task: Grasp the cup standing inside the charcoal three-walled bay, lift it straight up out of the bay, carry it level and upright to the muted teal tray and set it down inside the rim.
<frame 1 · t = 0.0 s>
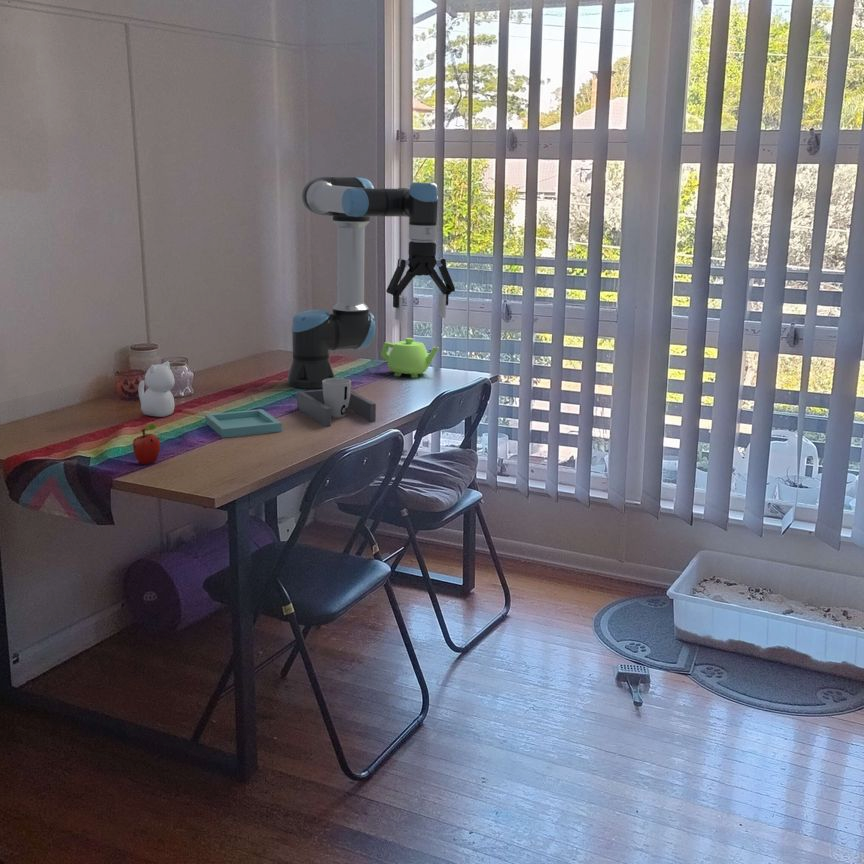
hand: (420, 318, 268), 28 cm above the table, fingers open, 13 cm apart
bay: (336, 415, 274), on the table
tray: (243, 427, 259), on the table
teapot: (408, 375, 329), on the table
cup: (336, 416, 274), resting in bay
cat figurine: (156, 415, 269), on the table
apple: (148, 463, 227), on the table
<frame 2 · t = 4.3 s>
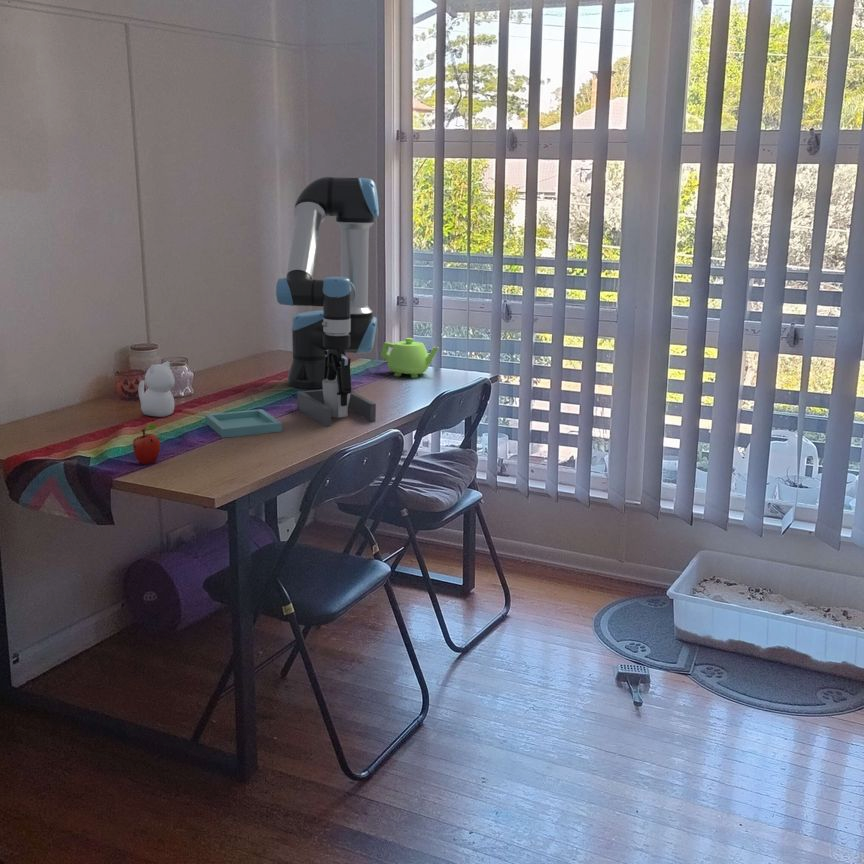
hand: (336, 412, 274), 1 cm above the table, fingers closed on cup, 8 cm apart
cup: (336, 416, 274), resting in bay, touching gripper
everything else where it was.
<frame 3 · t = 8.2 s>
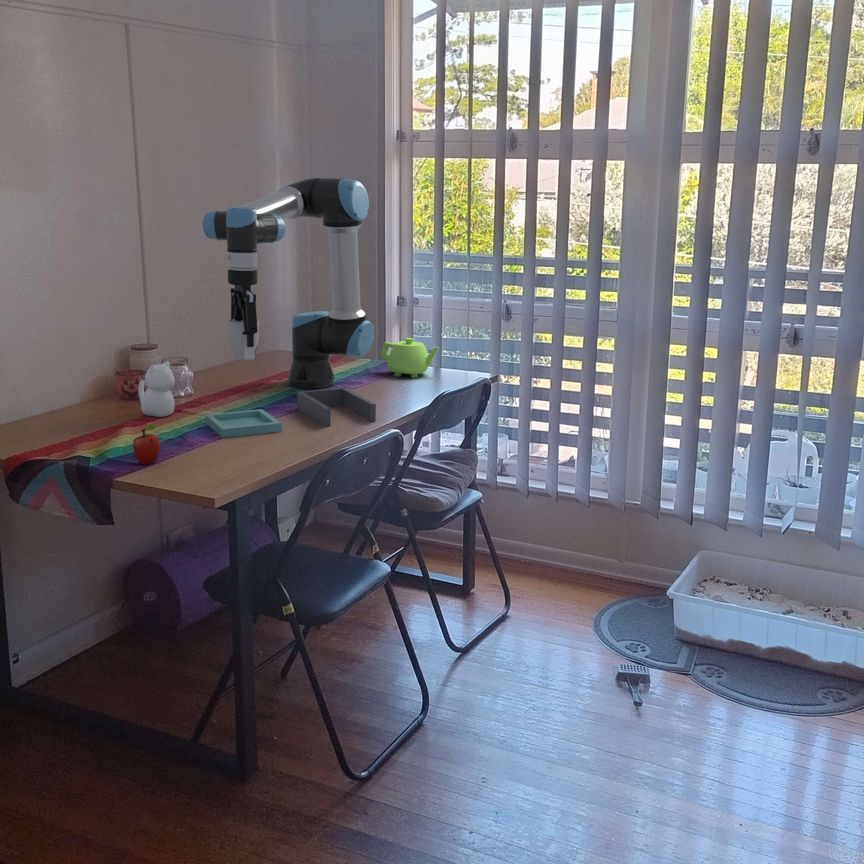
hand: (244, 355, 254), 19 cm above the table, fingers closed on cup, 8 cm apart
cup: (244, 359, 254), point 19 cm above the table, touching gripper
everything else where it was.
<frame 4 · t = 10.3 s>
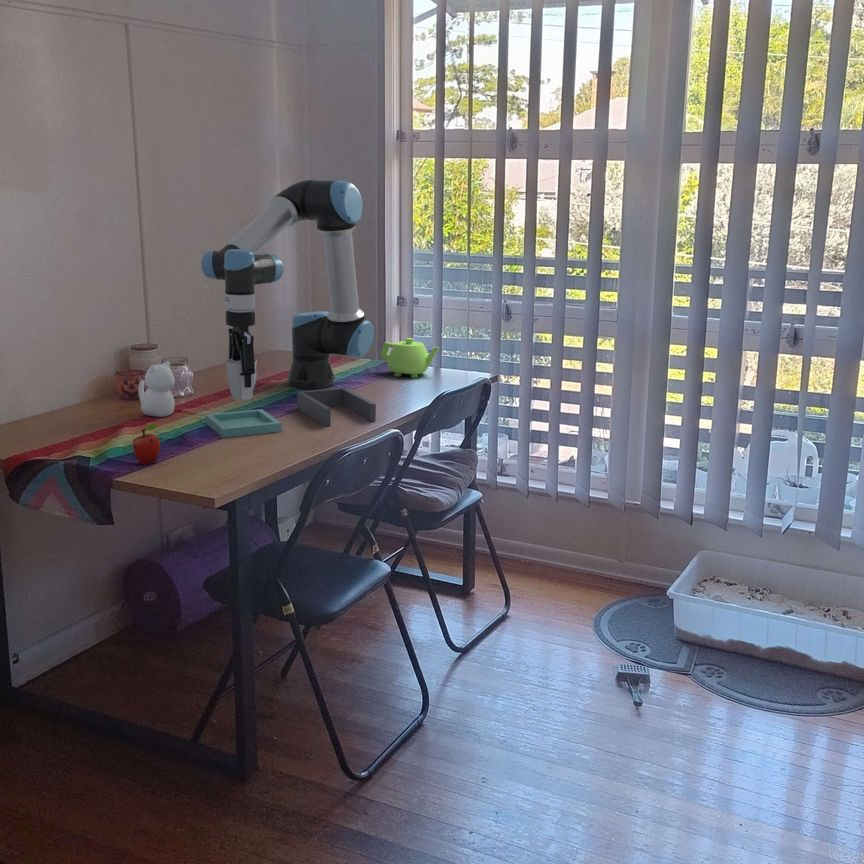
hand: (242, 395, 257), 9 cm above the table, fingers closed on cup, 8 cm apart
cup: (242, 398, 257), point 8 cm above the table, touching gripper
everything else where it was.
when the fingers open (3 cm above the table, at t = 12.3 s): cup drops 1 cm, resting on tray.
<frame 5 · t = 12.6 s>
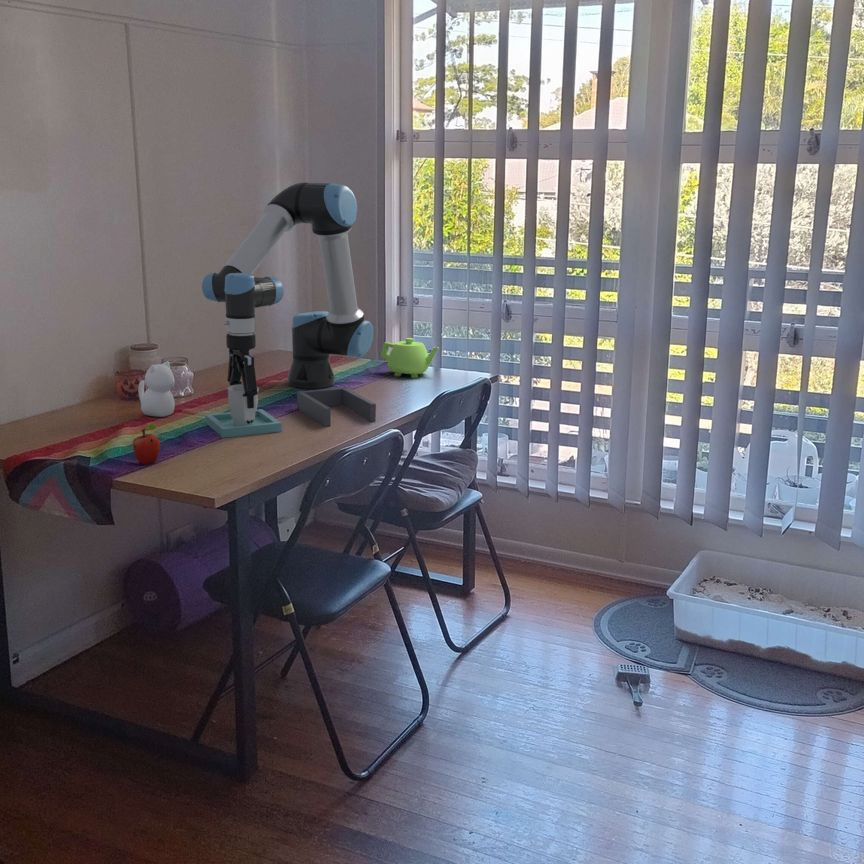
hand: (242, 414, 258), 3 cm above the table, fingers open, 11 cm apart
cup: (243, 424, 259), point 1 cm above the table, touching tray
everything else where it was.
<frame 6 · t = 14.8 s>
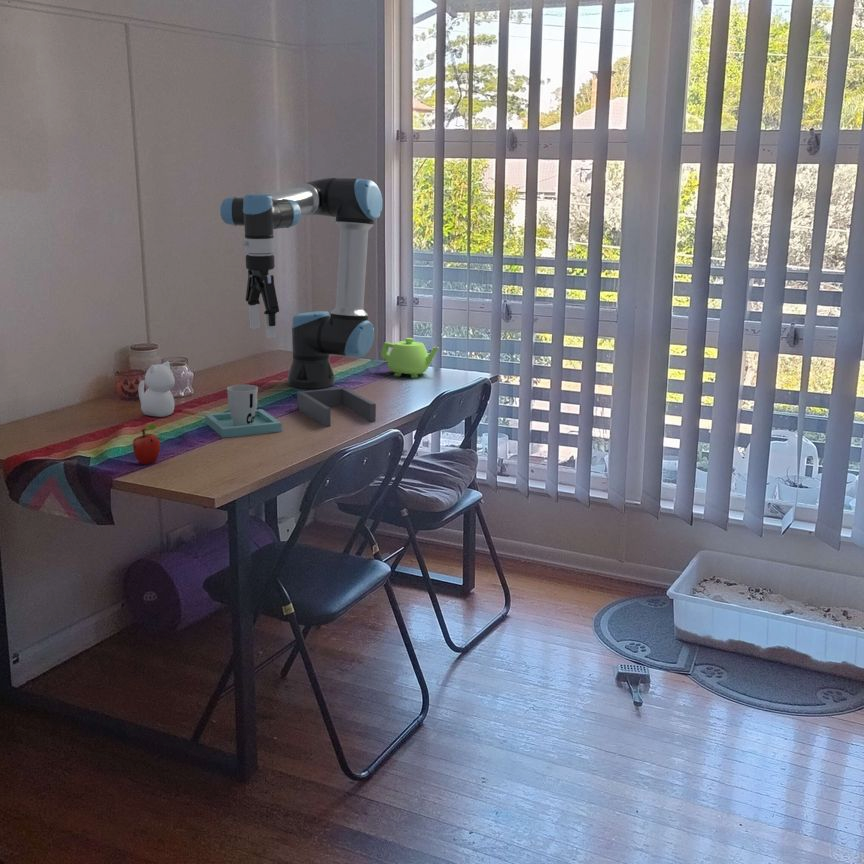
hand: (263, 333, 261), 24 cm above the table, fingers open, 13 cm apart
nothing on the table moved.
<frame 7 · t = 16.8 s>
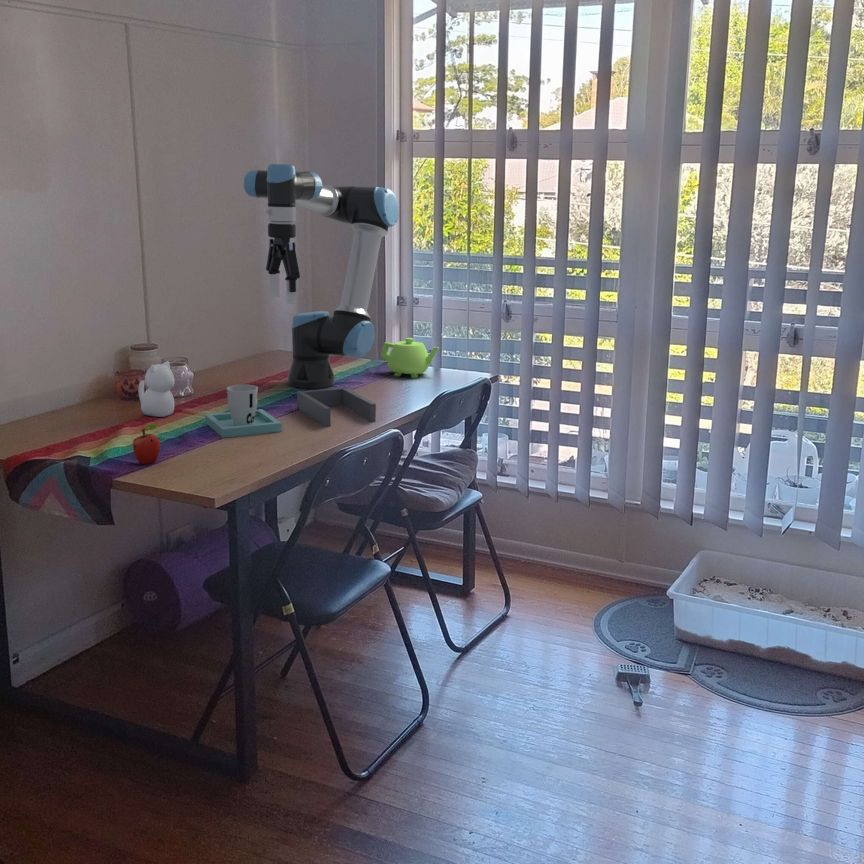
hand: (282, 300, 268), 32 cm above the table, fingers open, 13 cm apart
nothing on the table moved.
at the end: cup inside the target area on the tray (0.1 cm from its centre), point 0.6 cm above the tray's base; cup tilted 0°; the gripper is holding nothing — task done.
